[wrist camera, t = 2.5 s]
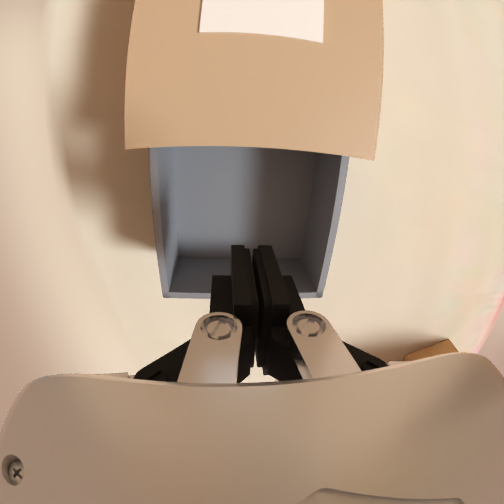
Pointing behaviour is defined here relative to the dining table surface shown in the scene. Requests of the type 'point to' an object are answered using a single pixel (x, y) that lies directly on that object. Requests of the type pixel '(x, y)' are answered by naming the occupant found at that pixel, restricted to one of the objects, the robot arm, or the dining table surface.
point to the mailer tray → (243, 212)
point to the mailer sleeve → (255, 75)
